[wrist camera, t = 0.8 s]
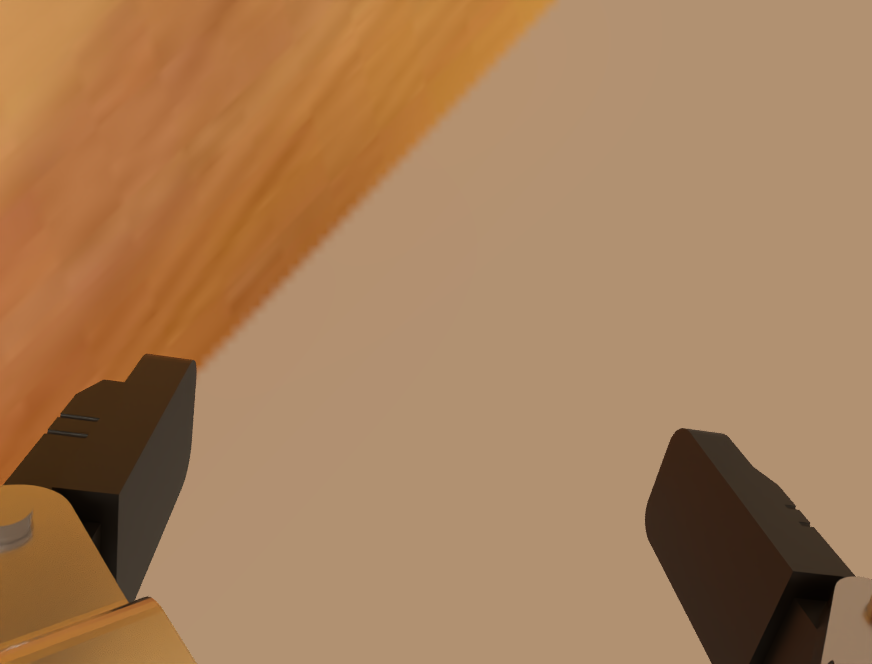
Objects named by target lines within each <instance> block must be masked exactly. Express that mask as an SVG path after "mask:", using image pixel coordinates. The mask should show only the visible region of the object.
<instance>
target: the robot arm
mask: <svg viewBox="0 0 872 664" xmlns="http://www.w3.org/2000/svg"><path fill="white" fill-rule="evenodd" d="M195 388H196V362H195V361H194V360H189V359H181V358H174V357H167V356H159V355H152V354H145V355H144V356H143V357H142V358H141V360H140V361H139V363H138V364H137V366H136V367H135V368H134V370H133V371H132V373H131V374H130V376H129V377H128V378H127V380H126V381H125V382H117V381H110V380H102V381H100V382H98V383H97V384H95V385H93V386H91V387H89V388H87V389H85V390H83V391H81V392H79V393H78V394H76V395H75V396H74V398H73V399H72V400H71V401H70V403H69V404H68V405H67V406H66V408H65V409H64V410H63V411H62V412H61V416H60V417H57V419H56V420H55V421H54V422H53V424H52V425H51V426H50V427H49V429H48V432H47V434H44V435H43V436H42V437H41V439H40V440H39V441H38V442H37V444H36V445H35V446H34V447H33V449H32V450H31V451H30V452H29V454H28V455H27V456H26V457H25V458H24V460H23V461H22V462H21V463H20V465H19V466H18V467H17V468H16V470H15V471H14V472H13V473H12V475H11V476H10V477H9V478H8V480H7V481H6V482H5V483H4V485H3V486H0V664H197V663H196V662H195V660H194V658H193V657H192V655H191V654H190V652H189V650H188V649H187V647H186V646H185V644H184V643H183V641H182V639H181V638H180V636H179V635H178V633H177V631H176V630H175V628H174V626H173V625H172V623H171V622H170V620H169V619H168V617H167V615H166V614H165V612H164V611H163V609H162V608H161V606H160V605H159V604H158V603H157V602H156V601H155V600H154V599H153V598H151V597H144V598H141V599H138V600H135V598H136V595H137V593H138V591H139V589H140V586H141V584H142V581H143V579H144V576H145V574H146V572H147V570H148V567H149V565H150V562H151V560H152V557H153V555H154V553H155V550H156V548H157V546H158V543H159V541H160V539H161V536H162V534H163V531H164V529H165V527H166V524H167V522H168V520H169V517H170V515H171V512H172V510H173V508H174V505H175V503H176V501H177V498H178V496H179V493H180V491H181V489H182V486H183V483H184V480H185V477H186V473H187V469H188V464H189V459H190V452H191V443H192V429H193V415H194V401H195ZM795 507H796V506H795V504H794V503H793V502H792V501H791V500H790V499H789V497H788V496H787V495H786V494H785V493H784V492H783V490H782V489H781V488H780V487H779V486H778V485H777V484H776V483H774V482H773V481H772V480H770V479H769V478H768V477H766V476H765V475H764V474H762V473H761V472H759V471H758V470H757V469H755V468H754V467H753V466H752V465H751V464H750V462H749V461H748V460H747V459H746V458H745V457H744V455H743V454H742V453H741V452H740V450H739V449H738V448H737V447H736V446H735V444H734V443H733V442H732V441H731V440H730V438H729V437H728V436H727V435H725V434H721V433H714V432H706V431H699V430H692V429H684V428H681V429H679V430H677V431H676V432H675V434H673V436H672V438H671V440H670V442H669V445H668V448H667V450H666V453H665V456H664V459H663V461H662V465H661V467H660V470H659V472H658V475H657V478H656V481H655V484H654V486H653V489H652V492H651V495H650V497H649V500H648V503H647V507H646V514H645V526H646V533H647V537H648V540H649V542H650V544H651V546H652V548H653V550H654V552H655V554H656V556H657V557H658V559H659V561H660V563H661V565H662V567H663V569H664V571H665V573H666V575H667V577H668V579H669V581H670V583H671V585H672V587H673V589H674V591H675V593H676V595H677V597H678V598H679V600H680V602H681V604H682V606H683V608H684V610H685V612H686V614H687V616H688V618H689V620H690V622H691V624H692V626H693V628H694V630H695V632H696V634H697V636H698V638H699V639H700V641H701V643H702V645H703V647H704V649H705V651H706V653H707V655H708V657H709V659H710V661H711V663H712V664H872V579H868V578H863V577H856V576H855V575H854V574H853V573H852V572H851V570H850V569H849V568H848V567H847V566H846V565H845V563H844V562H843V561H842V560H841V559H840V558H839V556H838V555H837V554H836V553H835V552H834V550H833V549H832V548H831V547H830V546H829V544H827V542H826V541H825V540H824V539H823V537H822V536H821V535H820V534H819V533H818V532H817V530H816V529H815V528H814V527H810V522H809V521H808V520H807V519H806V517H805V516H804V515H803V514H802V513H801V512H800V511H799V510H796V509H795ZM134 600H135V601H134Z"/></svg>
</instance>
